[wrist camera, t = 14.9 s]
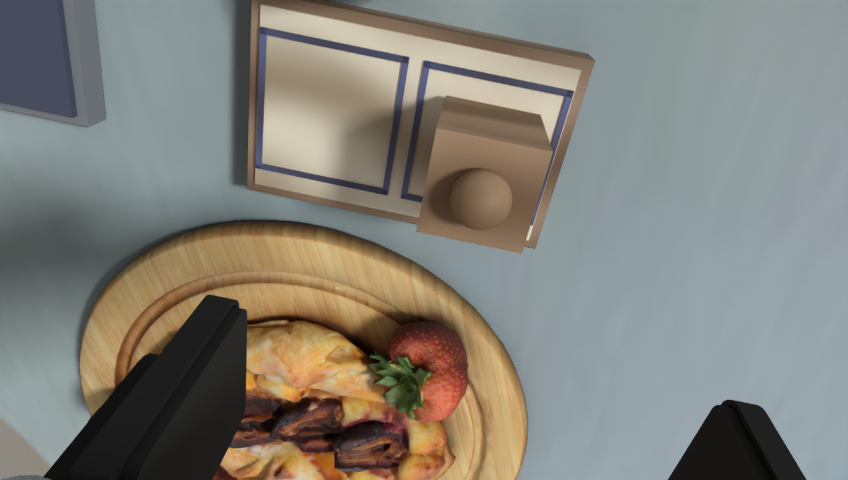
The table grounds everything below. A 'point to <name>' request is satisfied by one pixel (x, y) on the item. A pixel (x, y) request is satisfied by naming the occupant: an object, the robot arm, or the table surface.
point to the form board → (386, 101)
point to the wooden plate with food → (325, 355)
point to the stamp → (484, 174)
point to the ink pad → (51, 60)
